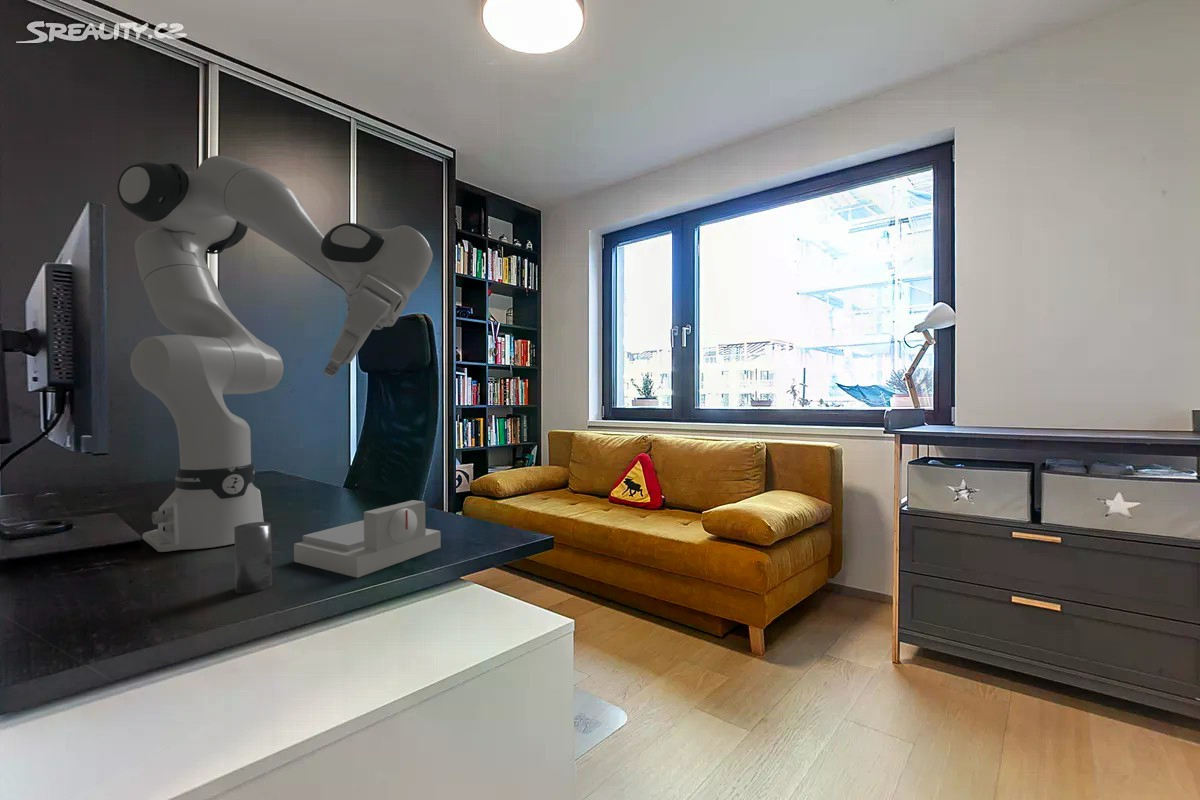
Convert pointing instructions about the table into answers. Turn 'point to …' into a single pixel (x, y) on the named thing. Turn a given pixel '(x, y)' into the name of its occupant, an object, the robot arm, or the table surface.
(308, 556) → the kitchen scale
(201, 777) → the table surface
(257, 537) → the cylinder
